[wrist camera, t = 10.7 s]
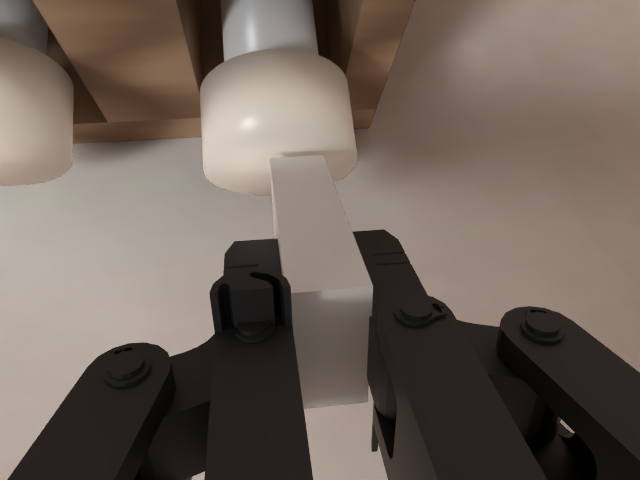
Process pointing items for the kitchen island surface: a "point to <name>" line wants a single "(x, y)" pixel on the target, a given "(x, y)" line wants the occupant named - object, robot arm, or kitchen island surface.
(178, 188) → the kitchen island surface
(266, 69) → the knob
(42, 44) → the knob
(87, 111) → the mount
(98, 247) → the kitchen island surface
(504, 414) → the robot arm
